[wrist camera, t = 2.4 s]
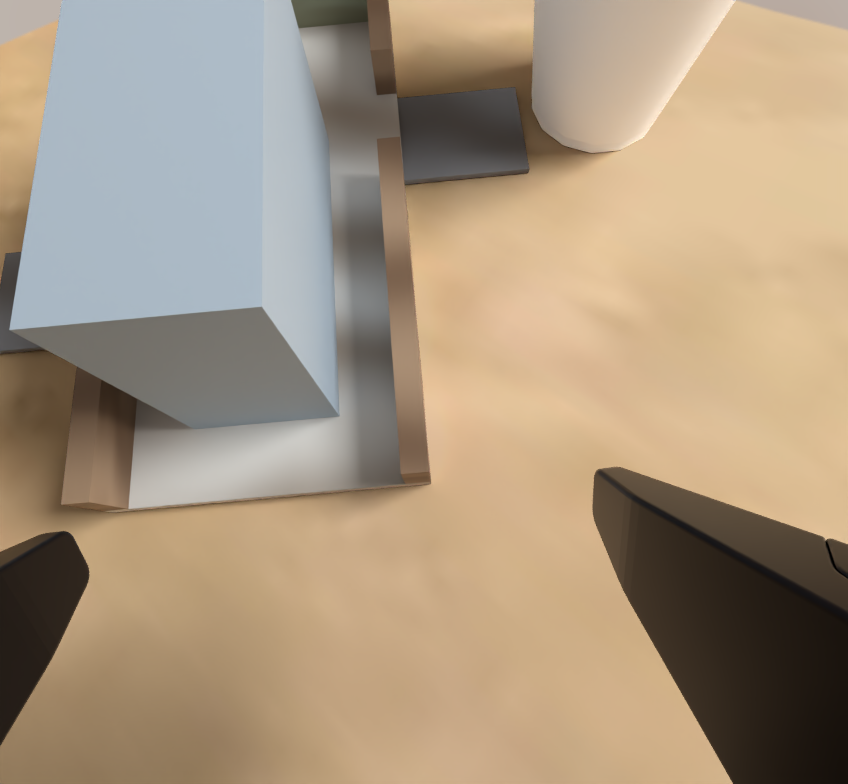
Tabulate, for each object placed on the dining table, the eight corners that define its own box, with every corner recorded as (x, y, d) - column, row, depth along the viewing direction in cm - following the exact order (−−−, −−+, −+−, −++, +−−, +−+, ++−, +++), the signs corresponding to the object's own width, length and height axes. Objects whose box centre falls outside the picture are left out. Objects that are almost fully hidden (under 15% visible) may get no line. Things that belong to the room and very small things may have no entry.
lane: (579, 470, 22) (613, 447, 18) (-35, 525, 22) (-153, 516, 18) (499, 5, 30) (509, -92, 25) (45, 49, 30) (-24, -40, 25)
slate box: (339, 416, 22) (261, 306, 13) (194, 429, 22) (9, 330, 13) (328, 140, 27) (264, -97, 17) (206, 151, 27) (74, -79, 17)
